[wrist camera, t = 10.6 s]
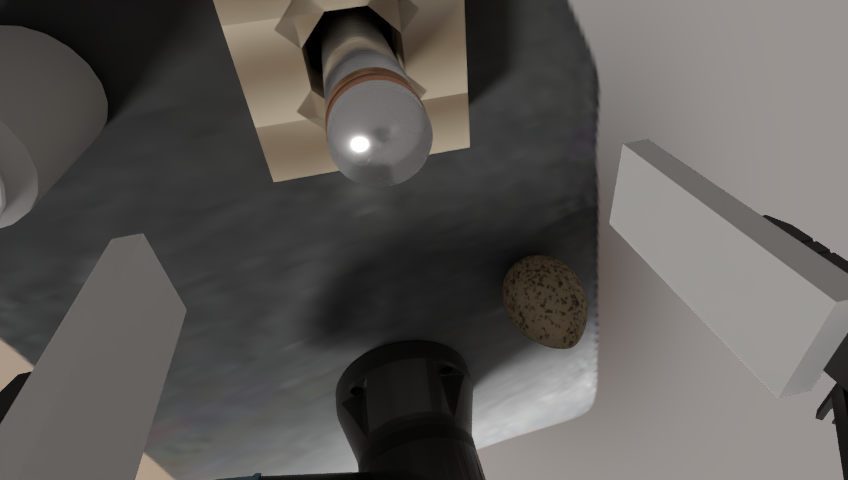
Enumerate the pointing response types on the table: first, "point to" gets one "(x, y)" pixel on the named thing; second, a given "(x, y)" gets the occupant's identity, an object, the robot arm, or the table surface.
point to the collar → (303, 85)
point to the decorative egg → (545, 301)
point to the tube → (370, 104)
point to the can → (42, 116)
